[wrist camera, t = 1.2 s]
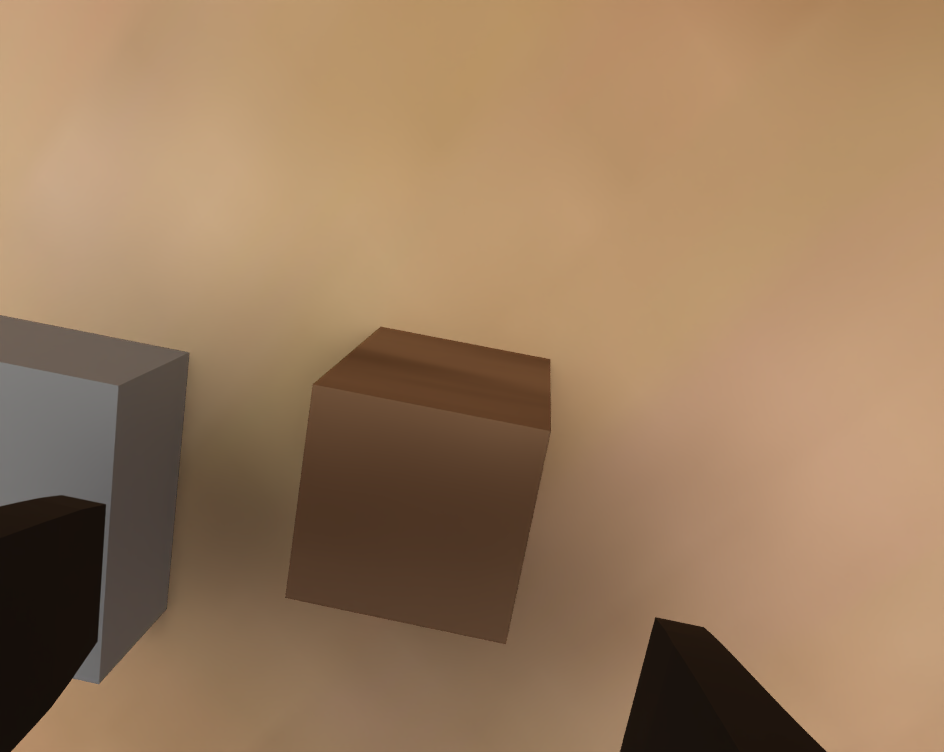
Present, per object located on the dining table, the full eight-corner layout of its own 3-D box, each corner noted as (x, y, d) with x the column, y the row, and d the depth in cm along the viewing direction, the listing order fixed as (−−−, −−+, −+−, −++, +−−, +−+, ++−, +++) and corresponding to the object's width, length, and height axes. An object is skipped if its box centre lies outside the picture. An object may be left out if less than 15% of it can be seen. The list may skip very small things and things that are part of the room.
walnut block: (517, 517, 19) (506, 643, 14) (357, 484, 19) (285, 597, 14) (550, 359, 18) (550, 431, 13) (381, 326, 18) (312, 384, 13)
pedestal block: (171, 603, 21) (98, 684, 18) (-78, 550, 21) (-197, 619, 18) (194, 350, 19) (118, 385, 16) (-78, 296, 20) (-209, 319, 16)
